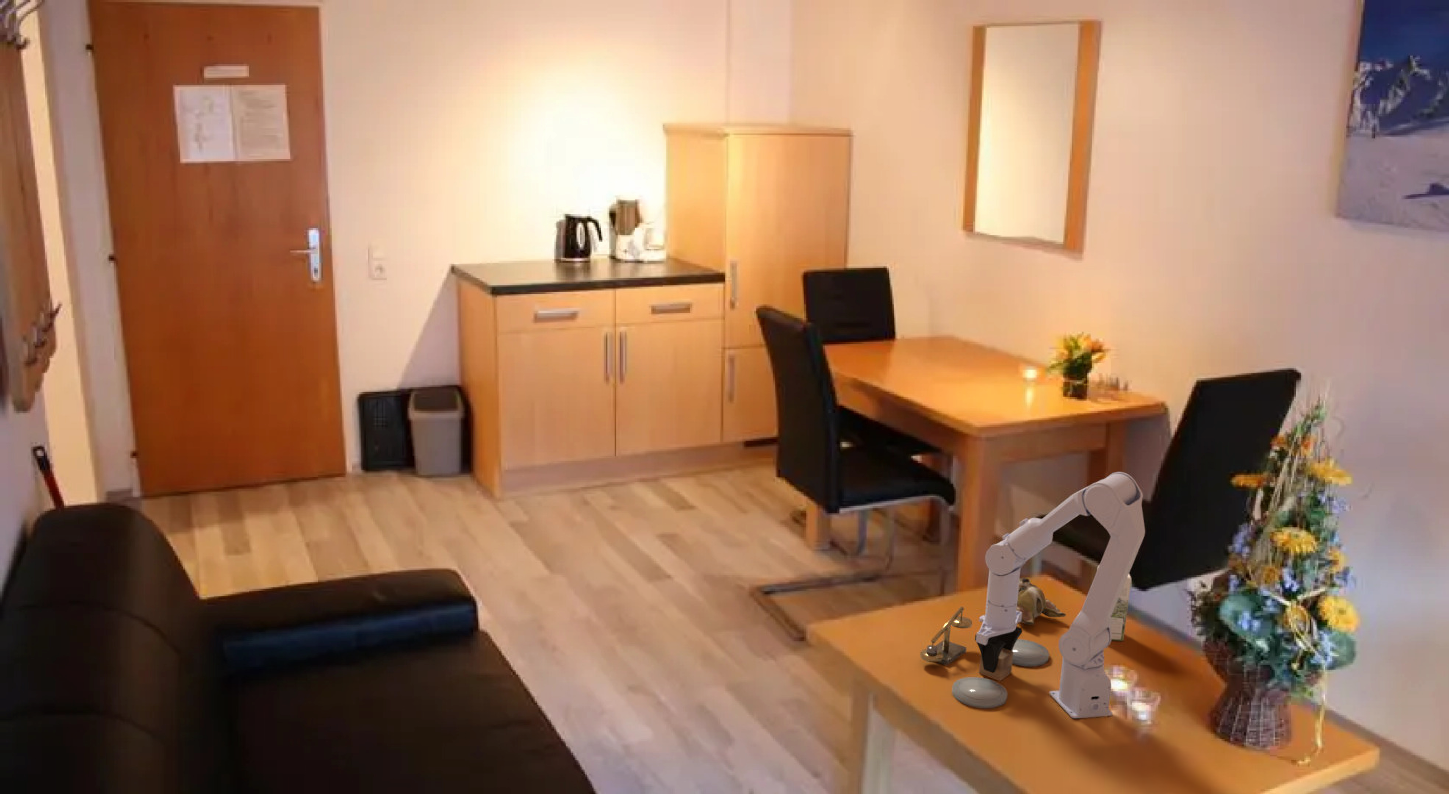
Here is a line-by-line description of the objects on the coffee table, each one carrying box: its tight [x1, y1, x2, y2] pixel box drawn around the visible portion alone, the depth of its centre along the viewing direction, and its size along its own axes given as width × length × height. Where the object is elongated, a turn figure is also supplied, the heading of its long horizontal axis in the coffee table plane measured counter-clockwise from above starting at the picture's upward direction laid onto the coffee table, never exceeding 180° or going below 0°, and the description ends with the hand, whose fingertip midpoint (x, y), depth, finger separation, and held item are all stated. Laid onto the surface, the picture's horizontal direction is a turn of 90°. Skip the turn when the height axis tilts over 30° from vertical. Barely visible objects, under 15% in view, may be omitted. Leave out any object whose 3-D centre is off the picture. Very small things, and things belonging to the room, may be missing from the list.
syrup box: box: [1096, 565, 1132, 642], centre depth 246 cm, size 6×6×14 cm
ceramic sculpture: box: [1016, 577, 1067, 626], centre depth 256 cm, size 11×9×15 cm
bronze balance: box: [919, 606, 973, 666], centre depth 236 cm, size 16×5×8 cm, turn 141°
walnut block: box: [978, 648, 1013, 682], centre depth 230 cm, size 4×4×4 cm
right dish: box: [1012, 638, 1050, 667], centre depth 238 cm, size 10×10×1 cm
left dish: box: [951, 676, 1008, 709], centre depth 221 cm, size 10×10×1 cm
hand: (995, 666), depth 230 cm, fingers closed on walnut block, 4 cm apart
